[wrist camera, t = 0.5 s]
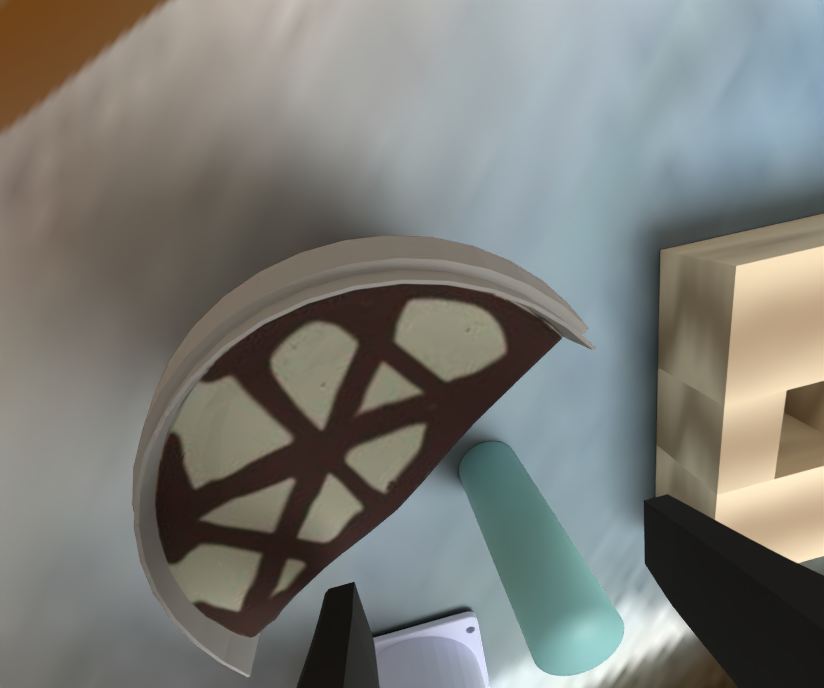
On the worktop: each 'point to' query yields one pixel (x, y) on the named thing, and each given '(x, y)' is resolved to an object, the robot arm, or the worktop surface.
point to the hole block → (746, 383)
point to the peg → (539, 565)
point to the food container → (320, 417)
